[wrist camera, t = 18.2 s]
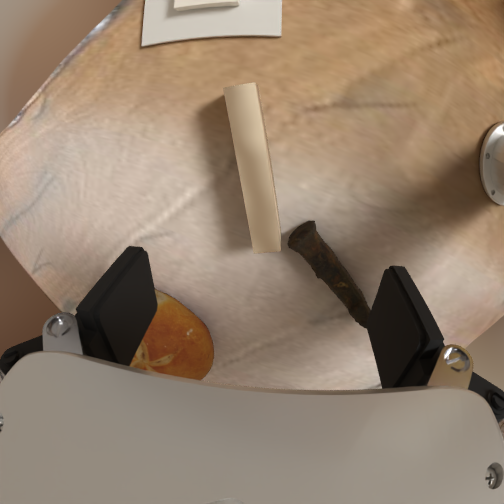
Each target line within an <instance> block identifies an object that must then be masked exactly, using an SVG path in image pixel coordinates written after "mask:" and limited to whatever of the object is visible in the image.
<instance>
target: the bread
mask: <svg viewBox="0 0 504 504" xmlns="http://www.w3.org/2000/svg"><path fill="white" fill-rule="evenodd" d="M155 293H156V298H157V303H158V308H157V312H156V314H155V316H154V318H153V320H152V322H151V323H150V325H149V327H148V329H147V331H146V333H145V335H144V337H143V339H142V341H141V343H140V345H139V347H138V349H137V351H136V354H135V356H134V358H133V360H132V362H131V364H130V367H134V368H138V369H143V370H147V371H152V372H157V373H161V374H167V375H172V376H177V377H183V378H189V379H195V380H201V379H203V378H204V377H205V376H206V374H207V373H208V372H209V370H210V369H211V366H212V364H213V358H214V348H213V342H212V338H211V335H210V332H209V330H208V328H207V327H206V325H205V324H204V323H203V322H202V321H201V320H200V319H199V318H198V317H197V316H196V315H195V314H194V313H193V312H191V311H190V310H189V309H188V308H186V307H185V306H184V305H183V304H182V303H180V302H179V301H178V300H176V299H175V298H173V297H171V296H169V295H167V294H165V293H163V292H160V291H158V290H156V289H155Z"/></svg>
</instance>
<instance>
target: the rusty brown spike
mask: <svg viewBox="0 0 504 504" xmlns="http://www.w3.org/2000/svg"><path fill="white" fill-rule="evenodd" d="M288 247H289V248H291V249H293V250H294V251H296V252H298V253H300V254H301V255H302V256H303V257H304V258H305V260H306V261H307V262H308V263H309V264H310V265H311V267H312V269H313V270H314V271H315V273H316V276H317V278H321V279H323V280H324V281H325V283H326V284H327V285H328V286H329V287H330V289H331V290H332V291H333V292H334V293H335V294H336V295H337V297H338V298H339V299H340V300H341V301H342V302H343V303H344V305H345V306H346V307H347V308H348V310H349V313H350V315H351V316H352V317H353V318H354V319H355V321H356V322H358V323H359V324H360V325H361V326H363V327H364V328H367V320H368V317H369V314H370V312H371V310H370V308H369V307H368V305H367V302H366V300H365V298H364V295H363V293H362V291H361V290H360V289H359V288H358V287H357V286H356V284H355V283H354V281H353V280H352V278H351V277H350V276H349V274H348V272H347V271H346V270H345V268H344V267H343V266H342V265H341V263H340V262H339V261H338V259H337V257H336V256H335V254H334V252H333V251H332V250H331V248H329V246H328V245H327V244H326V243H325V242H324V241H323V239H322V238H321V237H320V235H319V234H318V232H317V231H316V225H315V221H308V222H306V223H305V224H303V225H301V226H300V227H298V228H297V229H296V230H295V231H294V232H293V233H292V234H291V235H290V237H289V241H288Z"/></svg>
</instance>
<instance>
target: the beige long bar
mask: <svg viewBox="0 0 504 504" xmlns="http://www.w3.org/2000/svg"><path fill="white" fill-rule="evenodd" d="M223 90H224V95H225V101H226V106H227V111H228V117H229V122H230V128H231V133H232V138H233V144H234V149H235V155H236V160H237V165H238V171H239V176H240V182H241V187H242V192H243V198H244V203H245V209H246V214H247V219H248V225H249V230H250V236H251V241H252V247H253V252H254V254H255V253H266V252H277V251H281V229H280V222H279V214H278V207H277V200H276V193H275V186H274V179H273V172H272V165H271V159H270V152H269V146H268V139H267V133H266V127H265V121H264V115H263V109H262V103H261V97H260V91H259V86H258V85H257V84H256V83H255V82H253V83H247V84H241V85H236V86H230V87H225V88H223Z"/></svg>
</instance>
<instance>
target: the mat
mask: <svg viewBox="0 0 504 504" xmlns="http://www.w3.org/2000/svg"><path fill="white" fill-rule="evenodd" d="M174 2H175V0H145V9H144V19H143V32H142V46H143V47H145V46H150V45H155V44H161V43H167V42H174V41H181V40H190V39H200V38H212V37H230V36H270V37H281V18H282V0H240V5H239V6H220V7H208V8H198V9H190V10H183V11H177V10H176V9H175V8H174Z"/></svg>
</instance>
